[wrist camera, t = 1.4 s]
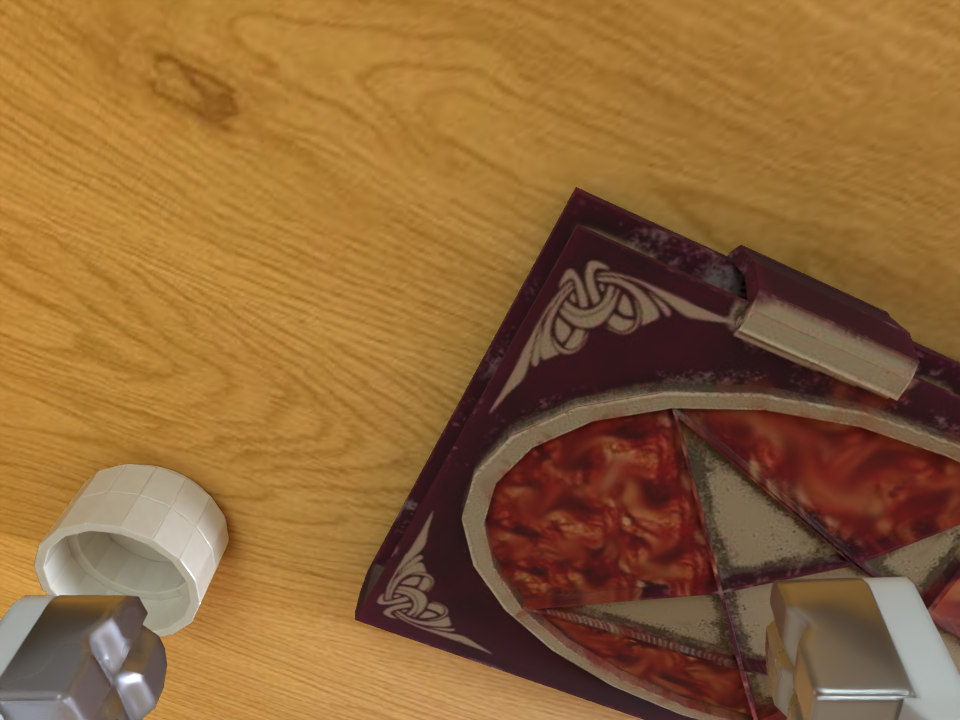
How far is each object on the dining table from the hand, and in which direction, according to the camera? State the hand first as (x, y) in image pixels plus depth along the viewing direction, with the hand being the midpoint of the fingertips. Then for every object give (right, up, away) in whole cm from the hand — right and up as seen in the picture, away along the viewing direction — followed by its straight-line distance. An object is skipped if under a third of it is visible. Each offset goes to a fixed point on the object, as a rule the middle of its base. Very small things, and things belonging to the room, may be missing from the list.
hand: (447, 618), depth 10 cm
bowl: (-13, -3, +25) cm, 28 cm away
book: (+12, -4, +23) cm, 26 cm away
